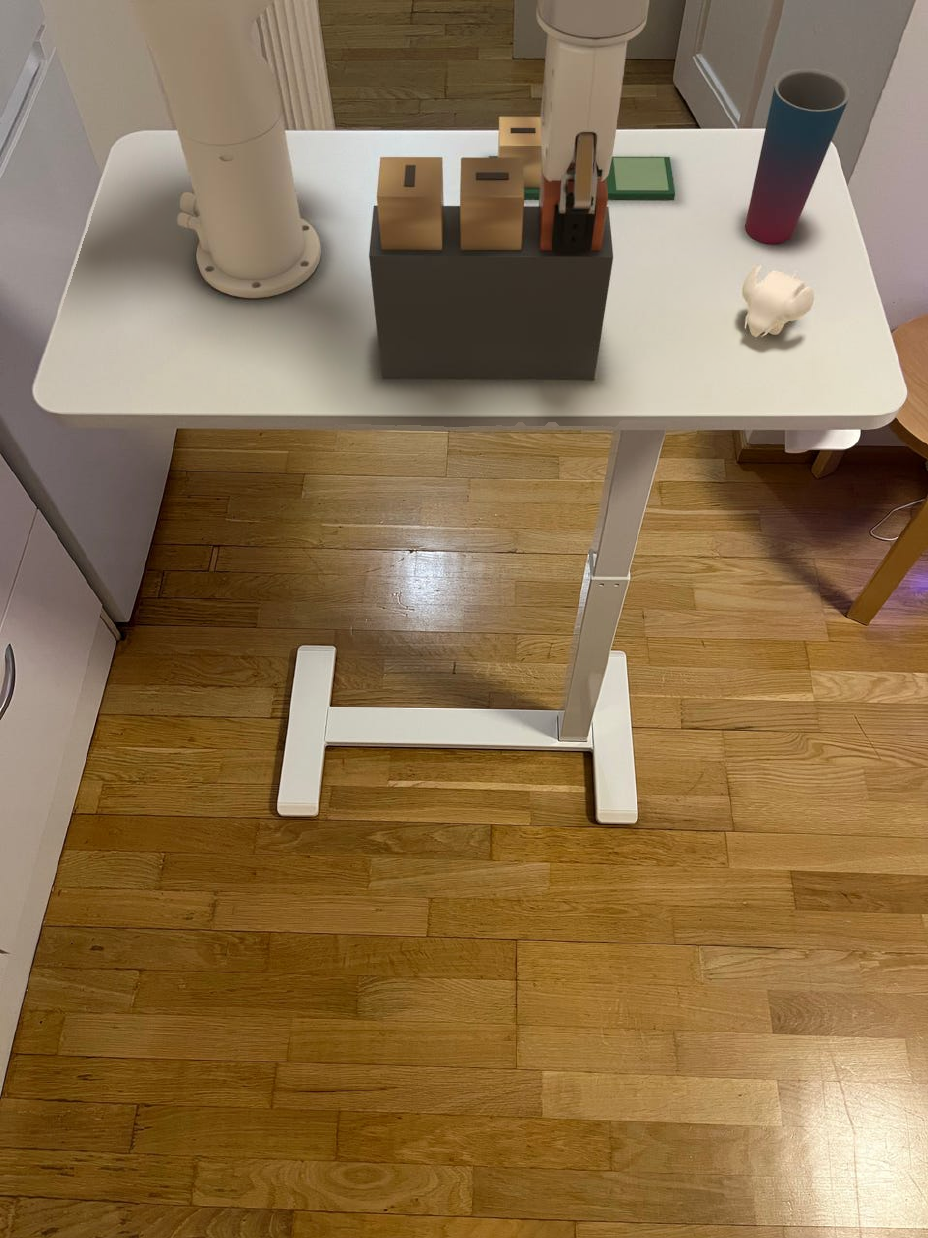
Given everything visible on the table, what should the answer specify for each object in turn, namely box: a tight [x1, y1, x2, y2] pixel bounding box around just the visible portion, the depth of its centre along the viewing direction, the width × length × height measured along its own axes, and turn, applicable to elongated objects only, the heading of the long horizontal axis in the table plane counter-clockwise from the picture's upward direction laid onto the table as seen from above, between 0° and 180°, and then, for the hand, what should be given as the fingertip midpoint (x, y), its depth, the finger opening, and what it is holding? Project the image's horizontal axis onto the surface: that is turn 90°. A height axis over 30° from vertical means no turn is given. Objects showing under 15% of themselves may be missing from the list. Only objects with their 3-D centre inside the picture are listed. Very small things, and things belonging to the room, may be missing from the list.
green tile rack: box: [488, 116, 676, 201], centre depth 104 cm, size 20×6×6 cm, turn 89°
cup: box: [744, 67, 851, 245], centre depth 96 cm, size 7×7×15 cm
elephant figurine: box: [741, 264, 815, 338], centre depth 92 cm, size 7×8×6 cm
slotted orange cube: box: [538, 163, 609, 251], centre depth 79 cm, size 5×5×5 cm
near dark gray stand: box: [368, 156, 614, 381], centre depth 85 cm, size 20×6×19 cm, turn 89°
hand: (569, 224), depth 81 cm, fingers closed on slotted orange cube, 5 cm apart
